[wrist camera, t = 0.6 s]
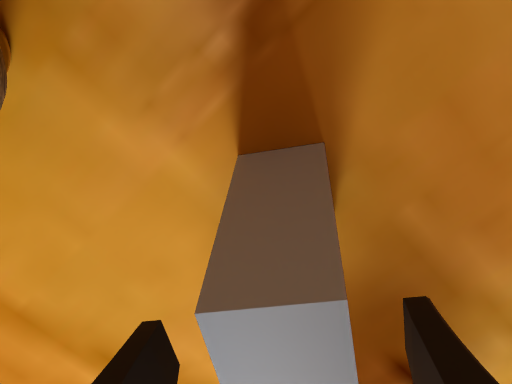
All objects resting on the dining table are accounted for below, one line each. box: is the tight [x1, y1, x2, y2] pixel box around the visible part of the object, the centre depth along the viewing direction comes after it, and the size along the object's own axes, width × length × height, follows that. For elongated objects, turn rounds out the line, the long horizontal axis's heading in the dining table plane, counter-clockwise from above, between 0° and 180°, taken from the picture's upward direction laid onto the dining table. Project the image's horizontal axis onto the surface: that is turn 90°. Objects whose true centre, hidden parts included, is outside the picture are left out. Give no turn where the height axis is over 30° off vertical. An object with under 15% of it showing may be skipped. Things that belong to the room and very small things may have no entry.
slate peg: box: [195, 142, 358, 384], centre depth 16 cm, size 4×4×10 cm
